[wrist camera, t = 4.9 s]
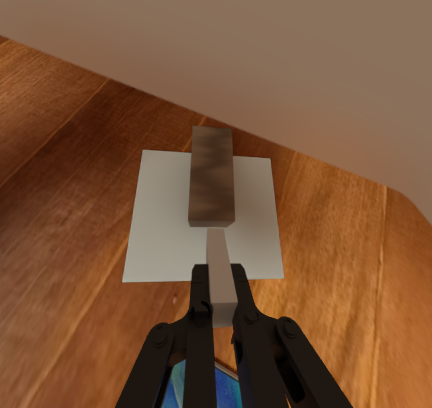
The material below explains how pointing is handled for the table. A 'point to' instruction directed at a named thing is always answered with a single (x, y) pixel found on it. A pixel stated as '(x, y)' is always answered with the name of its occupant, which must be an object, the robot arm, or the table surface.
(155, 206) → the mat
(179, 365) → the smartphone
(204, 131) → the walnut block
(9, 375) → the table surface
